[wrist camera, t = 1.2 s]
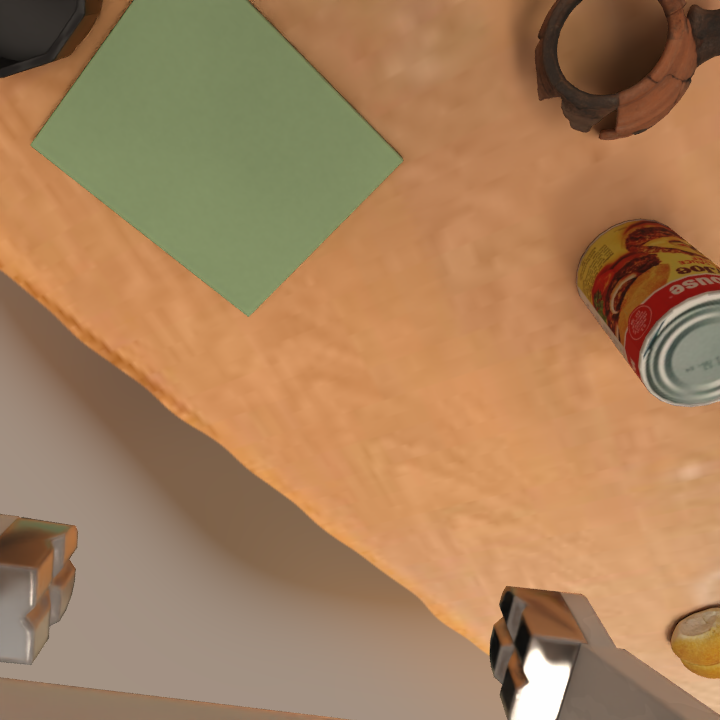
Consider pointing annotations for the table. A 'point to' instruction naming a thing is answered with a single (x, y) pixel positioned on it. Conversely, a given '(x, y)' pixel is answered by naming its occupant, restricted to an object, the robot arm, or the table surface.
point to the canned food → (657, 308)
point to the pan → (42, 31)
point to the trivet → (216, 142)
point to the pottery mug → (651, 94)
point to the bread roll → (699, 642)
